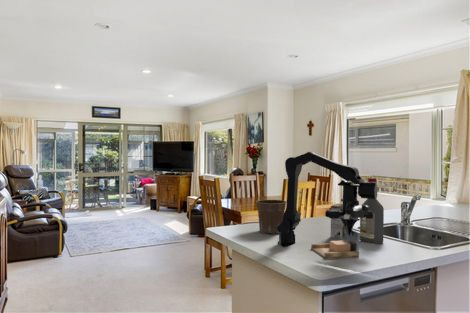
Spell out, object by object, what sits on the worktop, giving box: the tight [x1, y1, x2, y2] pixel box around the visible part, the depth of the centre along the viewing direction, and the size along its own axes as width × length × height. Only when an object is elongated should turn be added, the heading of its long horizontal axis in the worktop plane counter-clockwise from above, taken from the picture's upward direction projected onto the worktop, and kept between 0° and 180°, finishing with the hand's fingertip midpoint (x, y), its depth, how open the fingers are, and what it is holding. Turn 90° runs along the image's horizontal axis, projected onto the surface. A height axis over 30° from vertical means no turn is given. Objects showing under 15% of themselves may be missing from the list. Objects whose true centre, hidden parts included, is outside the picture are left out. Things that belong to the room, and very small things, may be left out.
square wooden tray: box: [310, 242, 360, 260], centre depth 143 cm, size 14×14×3 cm
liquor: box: [359, 177, 385, 245], centre depth 165 cm, size 9×9×30 cm
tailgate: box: [342, 229, 361, 253], centre depth 145 cm, size 10×11×1 cm
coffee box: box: [330, 203, 345, 240], centre depth 173 cm, size 9×6×16 cm
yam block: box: [329, 239, 350, 252], centre depth 144 cm, size 6×6×4 cm
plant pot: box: [255, 199, 287, 235], centre depth 185 cm, size 16×16×16 cm
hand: (348, 235), depth 144 cm, fingers closed
